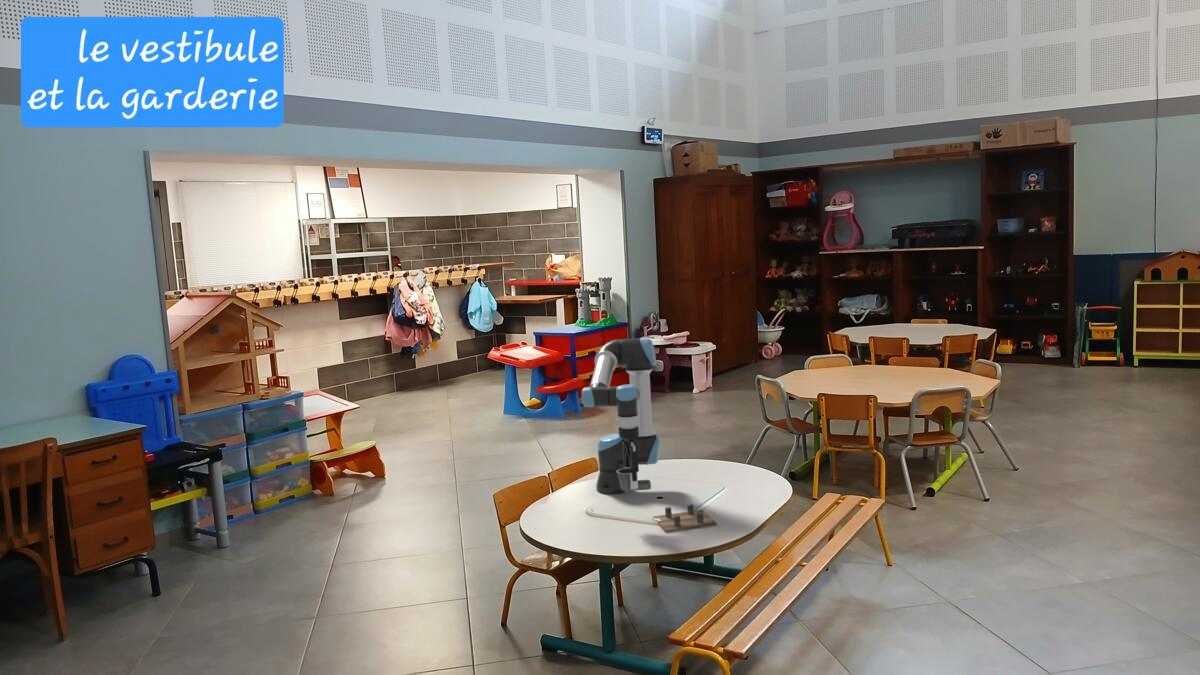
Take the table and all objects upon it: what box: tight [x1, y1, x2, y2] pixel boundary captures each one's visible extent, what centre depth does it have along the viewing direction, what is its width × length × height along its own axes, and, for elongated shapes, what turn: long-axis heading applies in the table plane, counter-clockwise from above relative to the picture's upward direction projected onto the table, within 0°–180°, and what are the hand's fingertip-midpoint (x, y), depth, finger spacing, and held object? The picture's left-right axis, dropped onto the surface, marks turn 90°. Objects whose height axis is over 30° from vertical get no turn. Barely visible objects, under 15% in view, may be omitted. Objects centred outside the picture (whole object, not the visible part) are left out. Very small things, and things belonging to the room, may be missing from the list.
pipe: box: [616, 468, 652, 493], centre depth 324 cm, size 6×13×8 cm, turn 80°
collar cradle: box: [652, 503, 718, 533], centre depth 325 cm, size 16×20×4 cm
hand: (632, 486), depth 324 cm, fingers closed on pipe, 6 cm apart
